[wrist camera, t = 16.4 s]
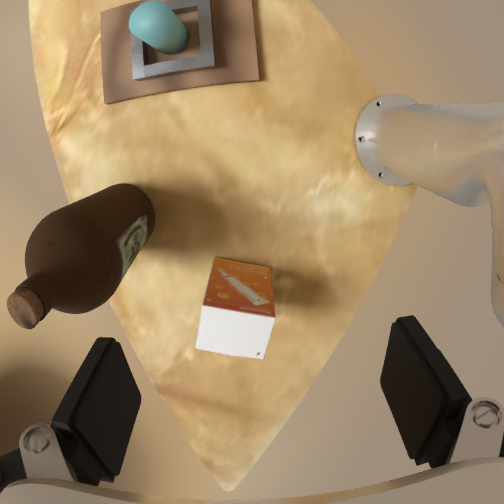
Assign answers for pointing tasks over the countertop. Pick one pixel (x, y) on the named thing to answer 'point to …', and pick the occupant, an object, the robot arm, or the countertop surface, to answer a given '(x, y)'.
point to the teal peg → (159, 27)
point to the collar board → (189, 59)
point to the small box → (237, 310)
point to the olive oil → (82, 254)
